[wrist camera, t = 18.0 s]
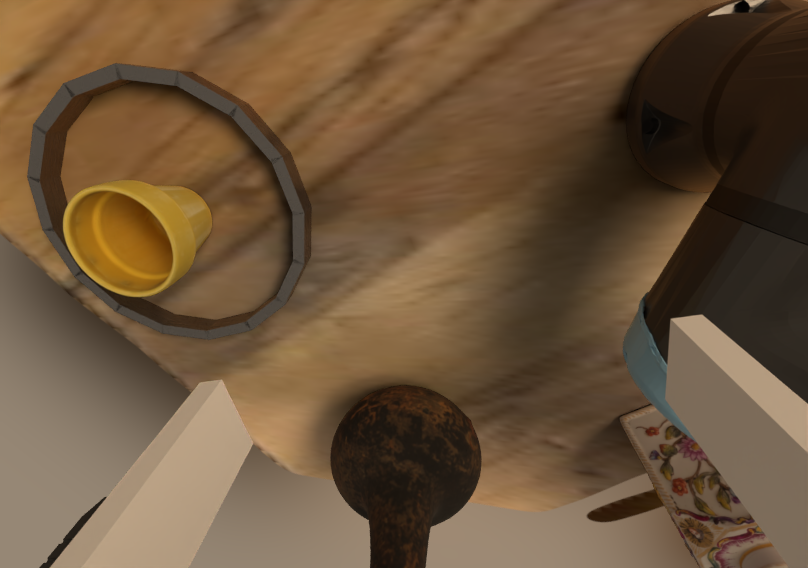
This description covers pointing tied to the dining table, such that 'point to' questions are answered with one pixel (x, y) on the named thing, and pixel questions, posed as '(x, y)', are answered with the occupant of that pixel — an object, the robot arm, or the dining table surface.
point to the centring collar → (53, 201)
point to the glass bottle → (405, 468)
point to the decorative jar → (698, 496)
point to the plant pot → (136, 234)
